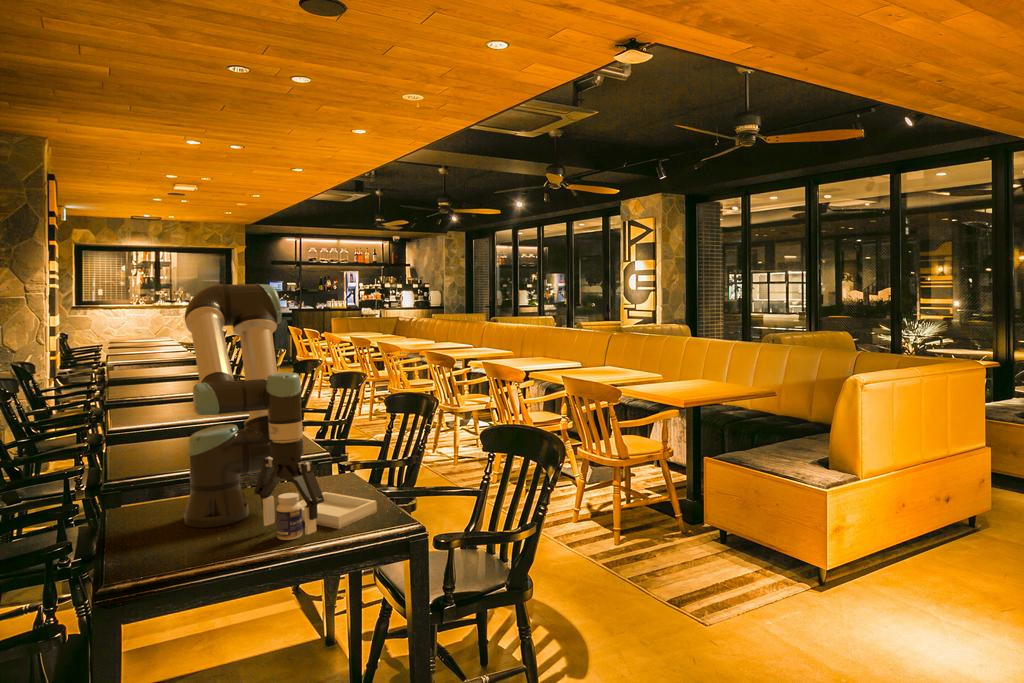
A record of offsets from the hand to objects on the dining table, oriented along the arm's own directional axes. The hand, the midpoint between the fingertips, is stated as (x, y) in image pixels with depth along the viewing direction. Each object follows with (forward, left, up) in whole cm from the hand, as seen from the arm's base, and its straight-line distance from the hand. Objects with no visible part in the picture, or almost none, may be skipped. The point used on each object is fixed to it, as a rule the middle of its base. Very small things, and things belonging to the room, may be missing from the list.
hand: (289, 528), depth 160 cm
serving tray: (-2, +16, -2) cm, 16 cm away
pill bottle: (0, 0, -2) cm, 2 cm away
